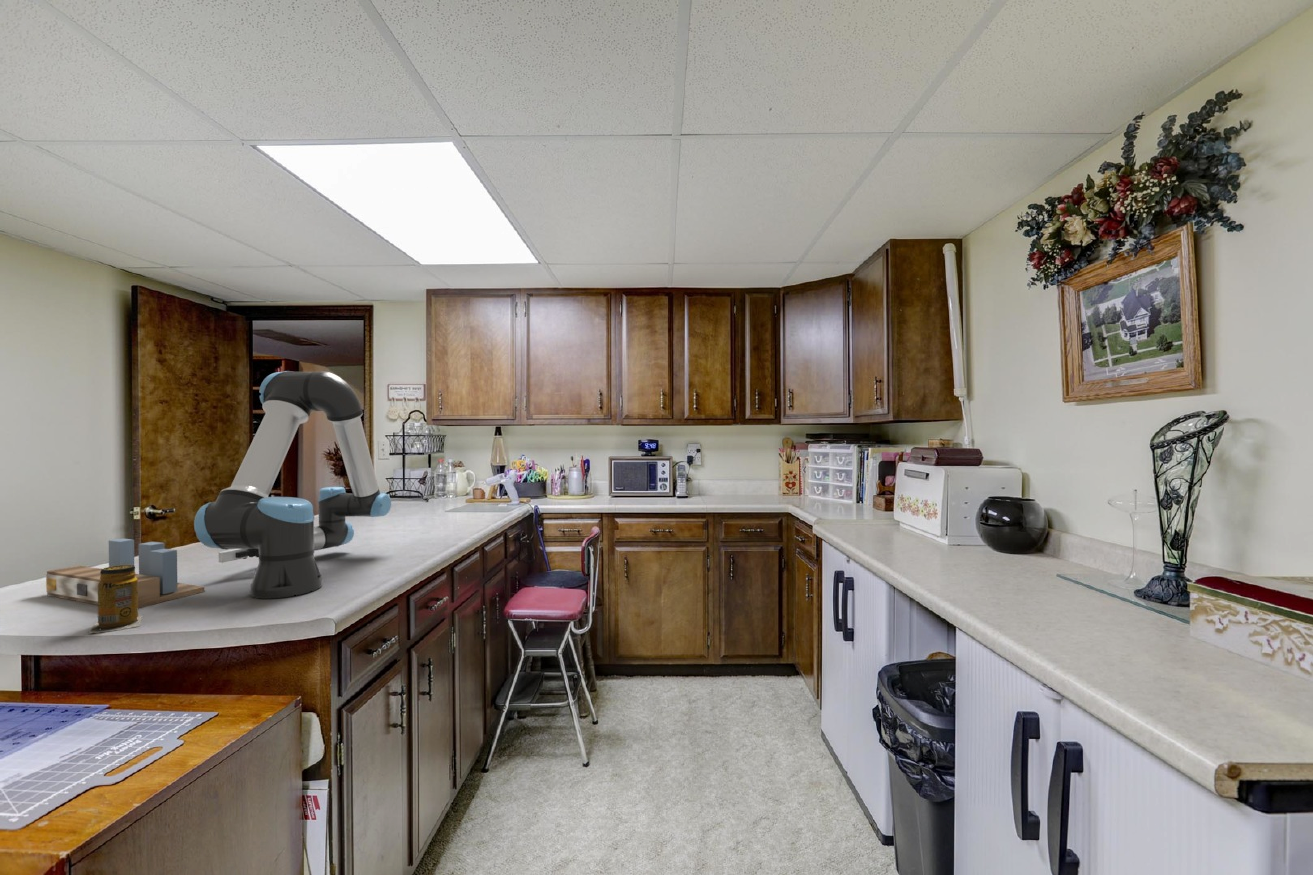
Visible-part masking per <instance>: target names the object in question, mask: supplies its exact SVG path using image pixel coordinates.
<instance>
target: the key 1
mask: <svg viewBox="0 0 1313 875" xmlns="http://www.w3.org/2000/svg"><path fill="white" fill-rule="evenodd" d="M119 565H133V566H135V539H129V538H116V539H110V540H108V567H112V566H119Z"/></svg>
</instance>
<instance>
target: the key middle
mask: <svg viewBox="0 0 1313 875" xmlns="http://www.w3.org/2000/svg"><path fill="white" fill-rule="evenodd" d="M165 544H166V543H165V542H159V541H148V542H142V543H138V574H140V575H147V576H150V555H149V551H153V550H159V549H166V548H165Z"/></svg>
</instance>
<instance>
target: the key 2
mask: <svg viewBox="0 0 1313 875" xmlns="http://www.w3.org/2000/svg"><path fill="white" fill-rule="evenodd" d="M149 555H150V576H154V577H159V578H160V594H167V593H171V592H175V591H177V583H178V550H176V549H170V548H165V549H159V550H153V551H149Z"/></svg>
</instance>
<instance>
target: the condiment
mask: <svg viewBox="0 0 1313 875" xmlns="http://www.w3.org/2000/svg"><path fill="white" fill-rule="evenodd" d="M101 569H102V570H101V572H100V573H101V577H100V579H101V581H100V582H99V584H98V605H97V622H95V623H94V624H93V626H92V628H91V630H90V631H89V633H88V634H89V635H90V634H98V633H104V632H105V633H106V632H112V631H120V630H125V629H131V628H135V627H136V628H137V627H139V626H140V625H141V622H142V619H143V615H139V608H138V579H137V578H136V577H135V574H136V567H135V565H134V566H133V565H119V566H112V567H109V566H108V567H104V568H101Z"/></svg>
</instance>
